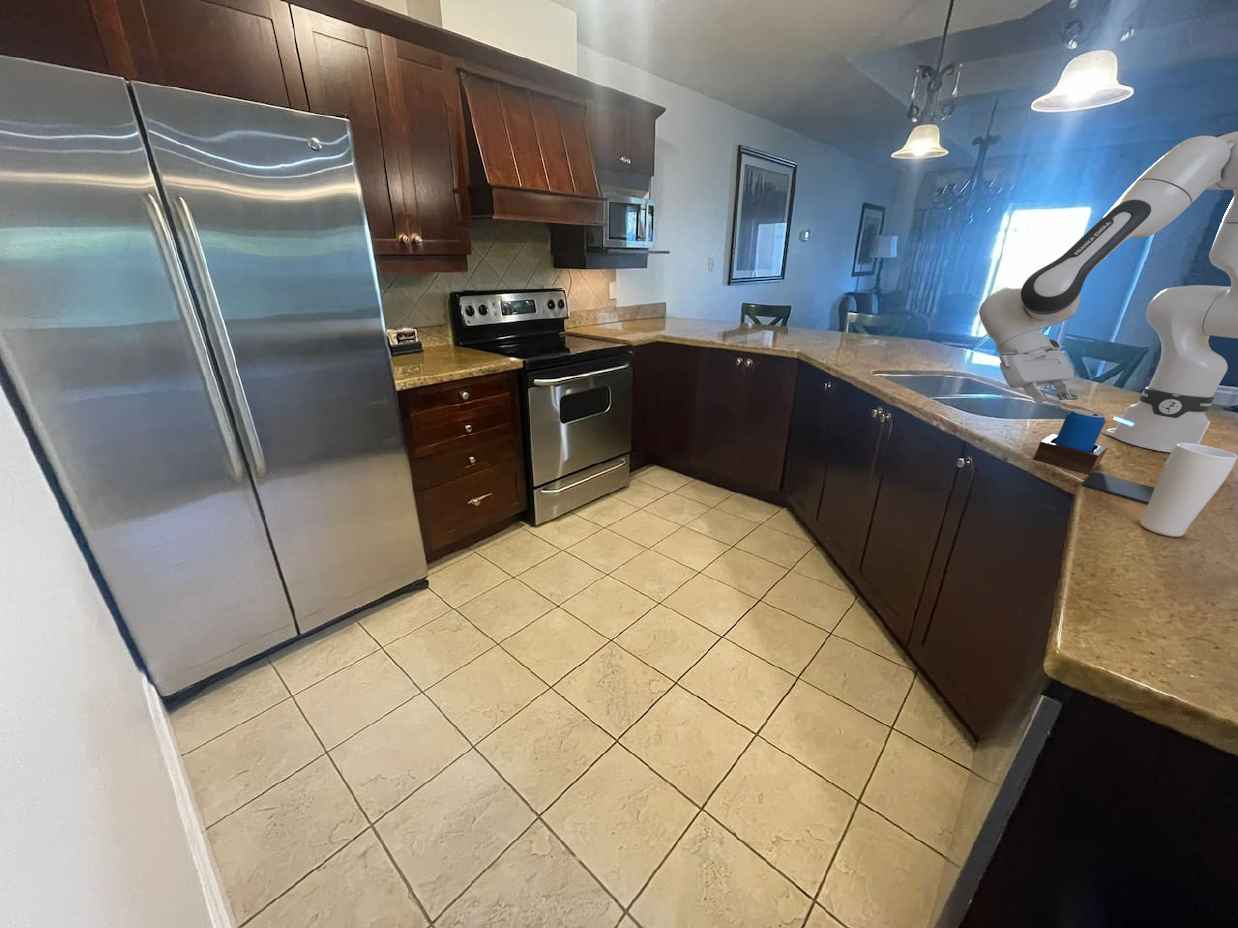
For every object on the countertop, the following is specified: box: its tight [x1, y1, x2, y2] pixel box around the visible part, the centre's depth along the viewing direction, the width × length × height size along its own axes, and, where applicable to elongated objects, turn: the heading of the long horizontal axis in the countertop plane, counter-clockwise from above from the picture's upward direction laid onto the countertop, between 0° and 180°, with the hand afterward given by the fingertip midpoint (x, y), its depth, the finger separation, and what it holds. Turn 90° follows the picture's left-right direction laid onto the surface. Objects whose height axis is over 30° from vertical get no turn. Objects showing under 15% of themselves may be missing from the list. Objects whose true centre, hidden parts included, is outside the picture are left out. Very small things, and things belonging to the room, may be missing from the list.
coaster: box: [1081, 471, 1155, 505], centre depth 97 cm, size 11×11×1 cm
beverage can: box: [1054, 408, 1106, 452], centre depth 107 cm, size 6×6×12 cm
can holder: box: [1032, 433, 1108, 475], centre depth 109 cm, size 10×10×4 cm
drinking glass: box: [1139, 443, 1238, 538], centre depth 79 cm, size 7×7×15 cm
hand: (1054, 400), depth 110 cm, fingers open, 8 cm apart
